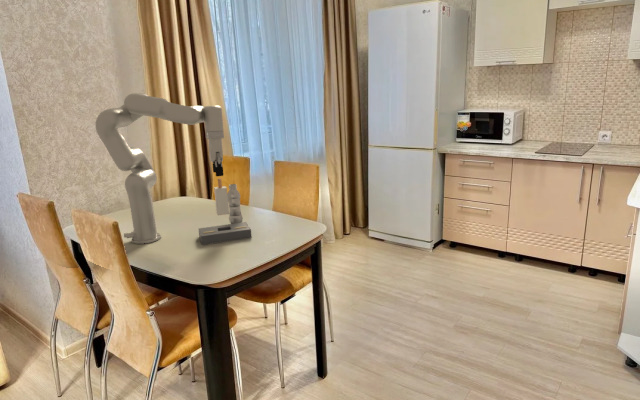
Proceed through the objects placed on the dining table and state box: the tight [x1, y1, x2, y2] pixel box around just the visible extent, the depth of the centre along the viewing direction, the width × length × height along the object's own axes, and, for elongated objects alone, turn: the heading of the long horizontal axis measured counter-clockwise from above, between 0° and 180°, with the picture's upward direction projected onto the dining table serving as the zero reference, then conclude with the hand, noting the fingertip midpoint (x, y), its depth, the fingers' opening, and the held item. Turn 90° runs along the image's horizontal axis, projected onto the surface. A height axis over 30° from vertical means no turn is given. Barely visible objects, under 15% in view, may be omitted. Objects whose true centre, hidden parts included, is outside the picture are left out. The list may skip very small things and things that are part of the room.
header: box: [198, 221, 253, 246], centre depth 201 cm, size 22×12×4 cm, turn 110°
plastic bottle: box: [227, 183, 244, 224], centre depth 218 cm, size 6×7×20 cm
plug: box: [213, 178, 229, 216], centre depth 197 cm, size 5×4×16 cm
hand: (218, 174), depth 194 cm, fingers open, 9 cm apart
